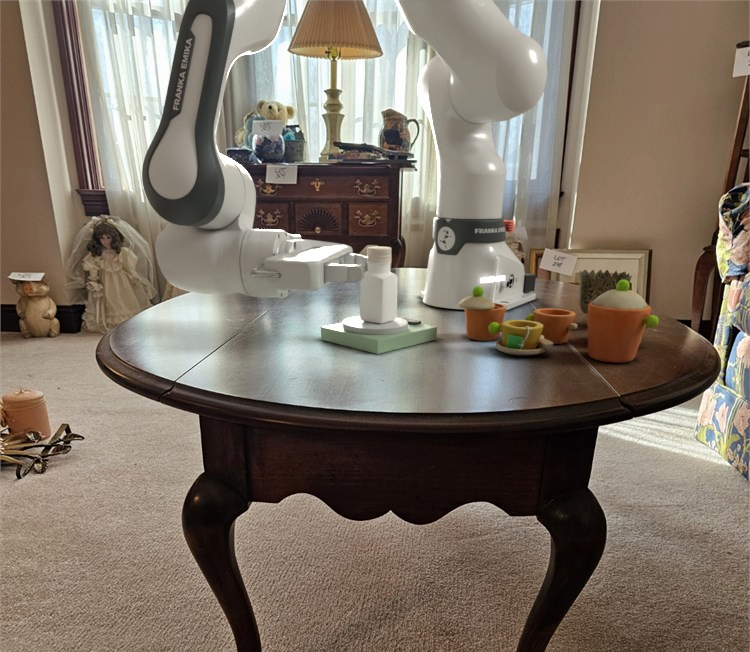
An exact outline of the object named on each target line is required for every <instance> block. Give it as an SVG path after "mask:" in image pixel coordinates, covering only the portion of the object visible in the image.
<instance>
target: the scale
mask: <svg viewBox="0 0 750 652" xmlns="http://www.w3.org/2000/svg"><path fill="white" fill-rule="evenodd" d="M437 335H438V326H435V325H430V324H425V323H422V320H417V319H414V318H413V319H412V318H409V317H408V318H407V317H402V316H398V315H397V316H396V319H395V320H392V321H389V322H386V323H382V324H378V323H372V322H366V321H363V320H361V319H360V315H356V316H351V317H347V318H344V319H343V320H342V322H338V323H334V324H328V325H323V326H320V337H321V338H320V339H321V340H322V341H325V342H329V343H333V344H337V345H339V346H345V347H348V348H352V349H356V350H360V351H363V352H364V351H365V352H368V353H372V354H375V355H379V354H384V353H387V352H388V353H389V352H392V351H396V350H401V349H405V348H408V347H411V346H412V347H413V346H416V345H420V344H424V343H427V342H431V341H432V342H433V341H435V340H437V339H438V337H437Z"/></svg>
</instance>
